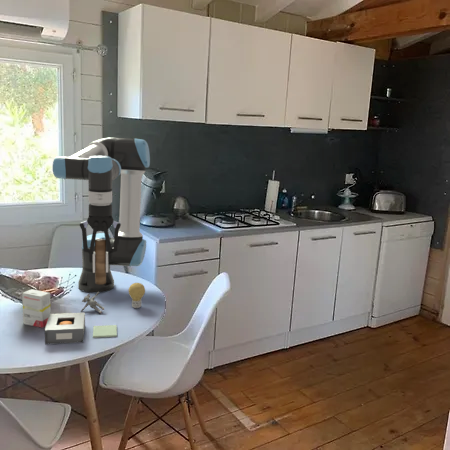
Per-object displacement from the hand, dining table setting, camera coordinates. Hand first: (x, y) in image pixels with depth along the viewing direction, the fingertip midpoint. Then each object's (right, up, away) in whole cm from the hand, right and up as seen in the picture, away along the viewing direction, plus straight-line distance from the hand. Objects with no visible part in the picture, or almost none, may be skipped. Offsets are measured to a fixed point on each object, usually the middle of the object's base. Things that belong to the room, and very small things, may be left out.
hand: (100, 271), depth 165 cm
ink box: (-25, -20, +9) cm, 33 cm away
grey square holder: (-12, -22, +2) cm, 25 cm away
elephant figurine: (-8, -18, +23) cm, 30 cm away
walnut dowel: (0, -4, +1) cm, 4 cm away
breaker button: (-12, -21, +2) cm, 24 cm away
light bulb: (+7, -17, +28) cm, 34 cm away
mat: (0, -22, +6) cm, 23 cm away
